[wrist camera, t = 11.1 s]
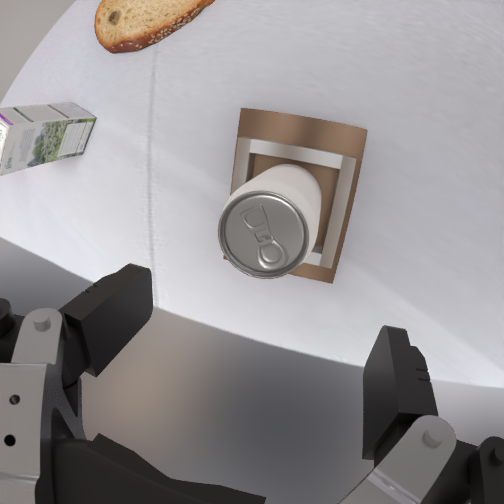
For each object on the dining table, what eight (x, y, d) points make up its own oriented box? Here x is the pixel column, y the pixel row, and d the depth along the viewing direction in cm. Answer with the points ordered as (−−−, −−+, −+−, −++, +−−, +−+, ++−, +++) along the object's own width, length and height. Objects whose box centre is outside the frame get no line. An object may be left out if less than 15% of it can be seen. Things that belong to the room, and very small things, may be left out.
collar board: (365, 129, 26) (371, 129, 23) (332, 277, 33) (332, 295, 29) (245, 108, 28) (233, 106, 25) (227, 253, 35) (215, 268, 31)
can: (271, 237, 31) (238, 296, 20) (244, 178, 29) (194, 208, 19) (331, 215, 29) (332, 267, 18) (305, 152, 27) (290, 166, 16)
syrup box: (73, 101, 32) (-15, 108, 19) (98, 117, 32) (5, 127, 19) (60, 138, 34) (-24, 155, 21) (84, 156, 35) (-4, 179, 22)
